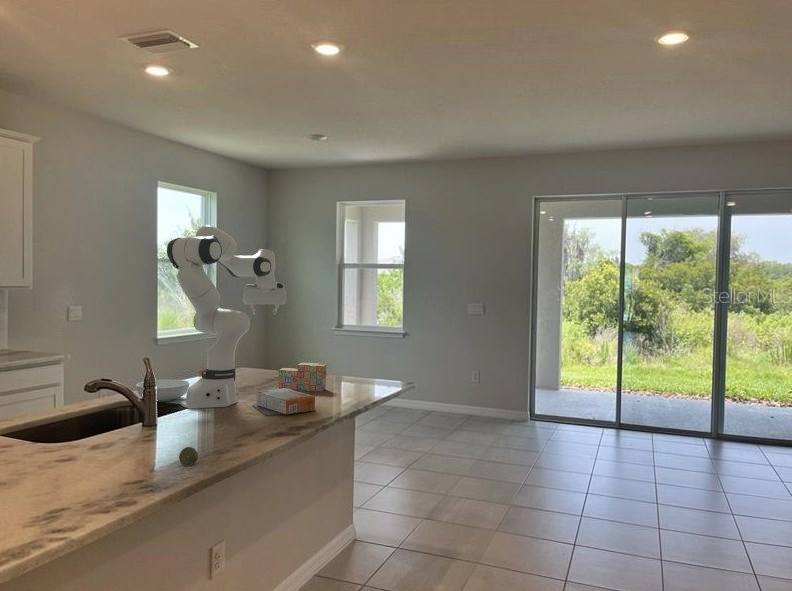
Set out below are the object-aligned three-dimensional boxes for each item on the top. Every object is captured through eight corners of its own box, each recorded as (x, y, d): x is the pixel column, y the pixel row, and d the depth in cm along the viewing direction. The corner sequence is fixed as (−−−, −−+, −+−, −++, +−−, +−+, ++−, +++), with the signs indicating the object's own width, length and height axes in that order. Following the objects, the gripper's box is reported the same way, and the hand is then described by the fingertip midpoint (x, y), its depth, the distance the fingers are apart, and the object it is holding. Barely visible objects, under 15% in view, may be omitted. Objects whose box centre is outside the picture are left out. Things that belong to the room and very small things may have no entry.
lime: (200, 464, 166) (200, 447, 166) (184, 468, 163) (184, 450, 163) (192, 461, 169) (192, 443, 169) (176, 464, 166) (176, 447, 166)
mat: (266, 416, 224) (266, 414, 224) (252, 406, 240) (252, 405, 240) (315, 411, 235) (315, 409, 235) (298, 402, 250) (298, 400, 250)
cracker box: (315, 411, 234) (284, 401, 248) (315, 396, 234) (285, 386, 248) (285, 416, 224) (255, 405, 238) (286, 400, 224) (256, 390, 238)
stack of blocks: (278, 389, 276) (278, 363, 276) (282, 386, 282) (283, 361, 282) (322, 392, 273) (322, 365, 272) (325, 389, 279) (326, 363, 279)
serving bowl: (188, 393, 261) (188, 378, 261) (189, 403, 241) (190, 387, 241) (137, 395, 253) (137, 379, 253) (134, 406, 234) (134, 389, 234)
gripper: (245, 284, 265) (244, 314, 265) (288, 285, 276) (287, 314, 276) (241, 283, 270) (240, 313, 271) (283, 284, 281) (283, 313, 281)
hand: (264, 314), depth 273 cm, fingers open, 8 cm apart
